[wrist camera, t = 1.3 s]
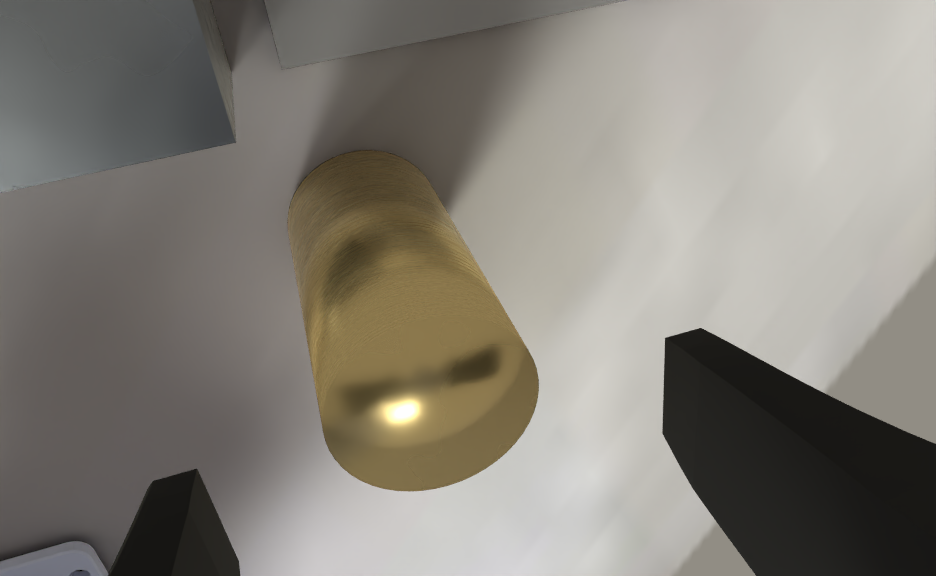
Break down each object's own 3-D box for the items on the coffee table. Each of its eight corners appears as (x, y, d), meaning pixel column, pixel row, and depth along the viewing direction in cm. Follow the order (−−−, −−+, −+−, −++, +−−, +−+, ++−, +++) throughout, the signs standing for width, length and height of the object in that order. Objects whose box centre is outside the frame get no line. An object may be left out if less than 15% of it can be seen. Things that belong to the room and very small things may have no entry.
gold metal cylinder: (448, 267, 19) (545, 455, 14) (308, 303, 19) (348, 515, 13) (426, 135, 18) (529, 290, 12) (269, 169, 17) (297, 351, 11)
